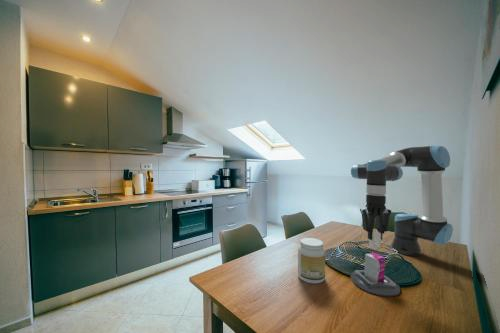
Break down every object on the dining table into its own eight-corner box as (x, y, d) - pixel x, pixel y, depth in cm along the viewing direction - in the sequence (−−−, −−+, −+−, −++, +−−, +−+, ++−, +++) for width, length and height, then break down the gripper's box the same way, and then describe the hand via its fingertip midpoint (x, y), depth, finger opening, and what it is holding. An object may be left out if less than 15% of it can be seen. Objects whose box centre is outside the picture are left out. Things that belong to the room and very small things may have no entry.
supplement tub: (330, 282, 93) (331, 245, 93) (306, 286, 89) (307, 247, 89) (314, 269, 104) (315, 236, 104) (293, 272, 101) (293, 238, 101)
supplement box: (376, 286, 89) (377, 259, 89) (363, 279, 94) (364, 254, 94) (384, 282, 91) (385, 257, 91) (372, 276, 97) (372, 251, 97)
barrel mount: (380, 272, 103) (380, 266, 103) (411, 296, 84) (412, 289, 84) (343, 272, 102) (343, 266, 102) (366, 296, 83) (366, 289, 83)
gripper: (386, 193, 97) (385, 243, 97) (354, 193, 96) (353, 243, 96) (398, 195, 89) (397, 250, 89) (364, 195, 89) (363, 250, 89)
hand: (374, 246), depth 93 cm, fingers open, 2 cm apart
